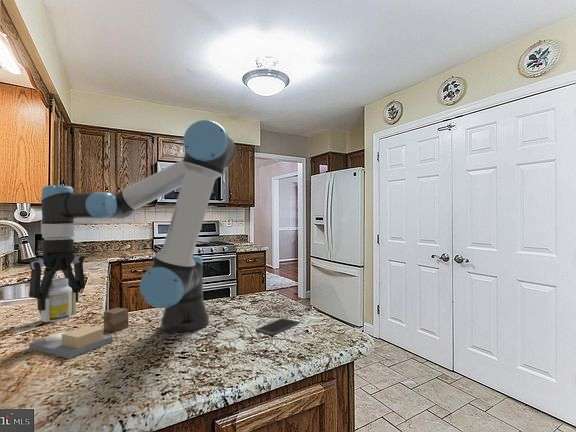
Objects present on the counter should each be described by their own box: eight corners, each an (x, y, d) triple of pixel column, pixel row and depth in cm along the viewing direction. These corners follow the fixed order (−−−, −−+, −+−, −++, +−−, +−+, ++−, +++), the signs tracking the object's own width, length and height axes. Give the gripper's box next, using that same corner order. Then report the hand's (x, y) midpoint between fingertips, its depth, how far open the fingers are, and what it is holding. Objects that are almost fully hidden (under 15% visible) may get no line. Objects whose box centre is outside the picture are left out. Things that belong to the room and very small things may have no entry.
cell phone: (254, 332, 97) (254, 329, 97) (282, 320, 108) (282, 317, 108) (272, 337, 93) (272, 334, 93) (300, 324, 104) (300, 322, 104)
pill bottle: (62, 314, 96) (62, 276, 96) (77, 316, 93) (77, 277, 93) (39, 321, 89) (39, 280, 89) (55, 323, 87) (54, 282, 87)
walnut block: (128, 327, 103) (128, 309, 103) (114, 332, 99) (114, 313, 99) (117, 325, 105) (117, 307, 105) (103, 330, 101) (103, 311, 101)
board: (112, 341, 91) (112, 326, 91) (69, 358, 80) (69, 341, 80) (73, 333, 98) (73, 319, 98) (29, 348, 87) (28, 332, 87)
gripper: (83, 236, 102) (83, 307, 102) (10, 240, 84) (11, 326, 84) (98, 236, 99) (99, 309, 99) (26, 241, 81) (27, 330, 81)
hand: (58, 317), depth 91 cm, fingers closed on pill bottle, 6 cm apart
